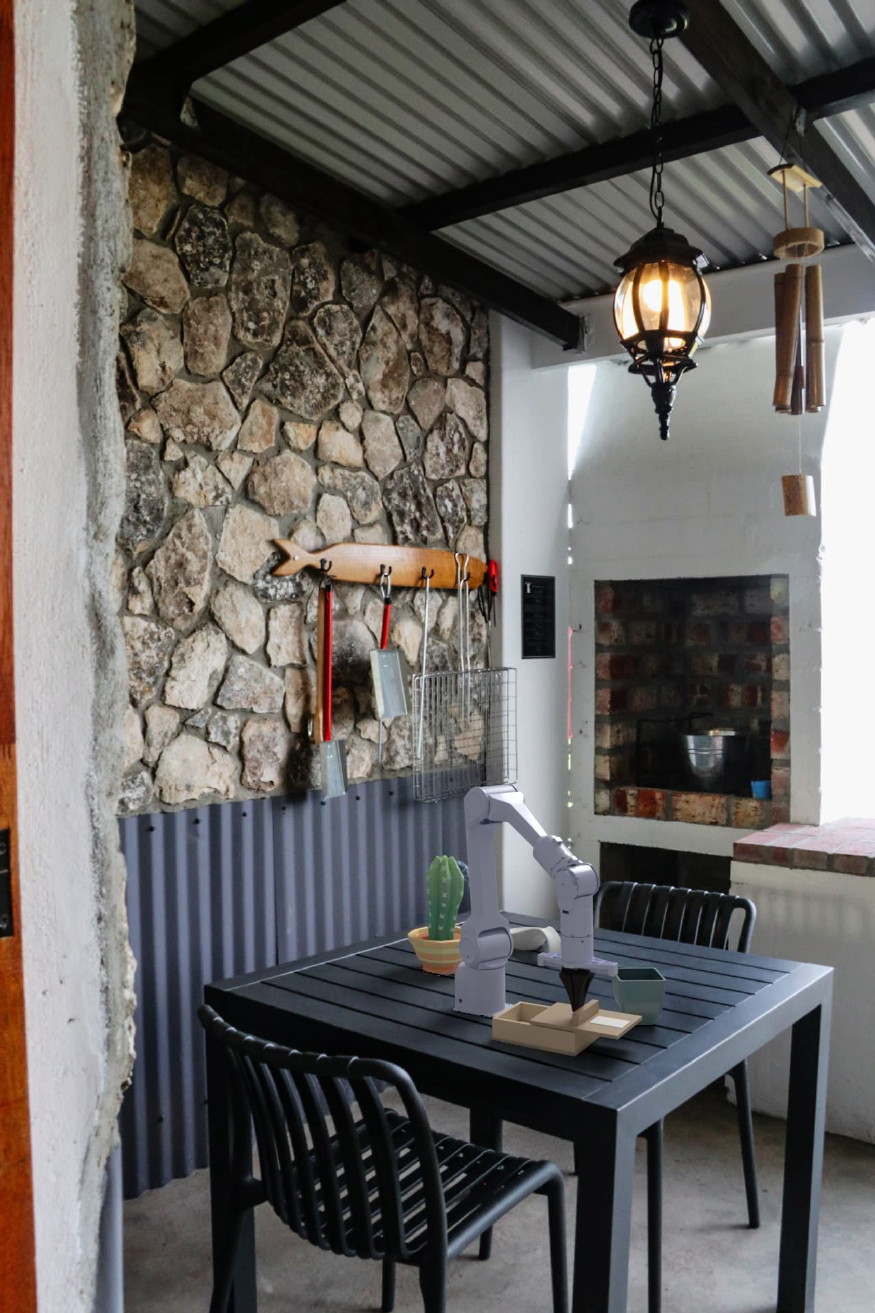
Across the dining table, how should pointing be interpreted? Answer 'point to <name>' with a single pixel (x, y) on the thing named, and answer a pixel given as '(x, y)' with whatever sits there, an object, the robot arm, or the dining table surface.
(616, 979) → the flower pot
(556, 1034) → the box
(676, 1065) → the dining table surface
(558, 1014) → the mailer lid
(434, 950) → the potted cactus
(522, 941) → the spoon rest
